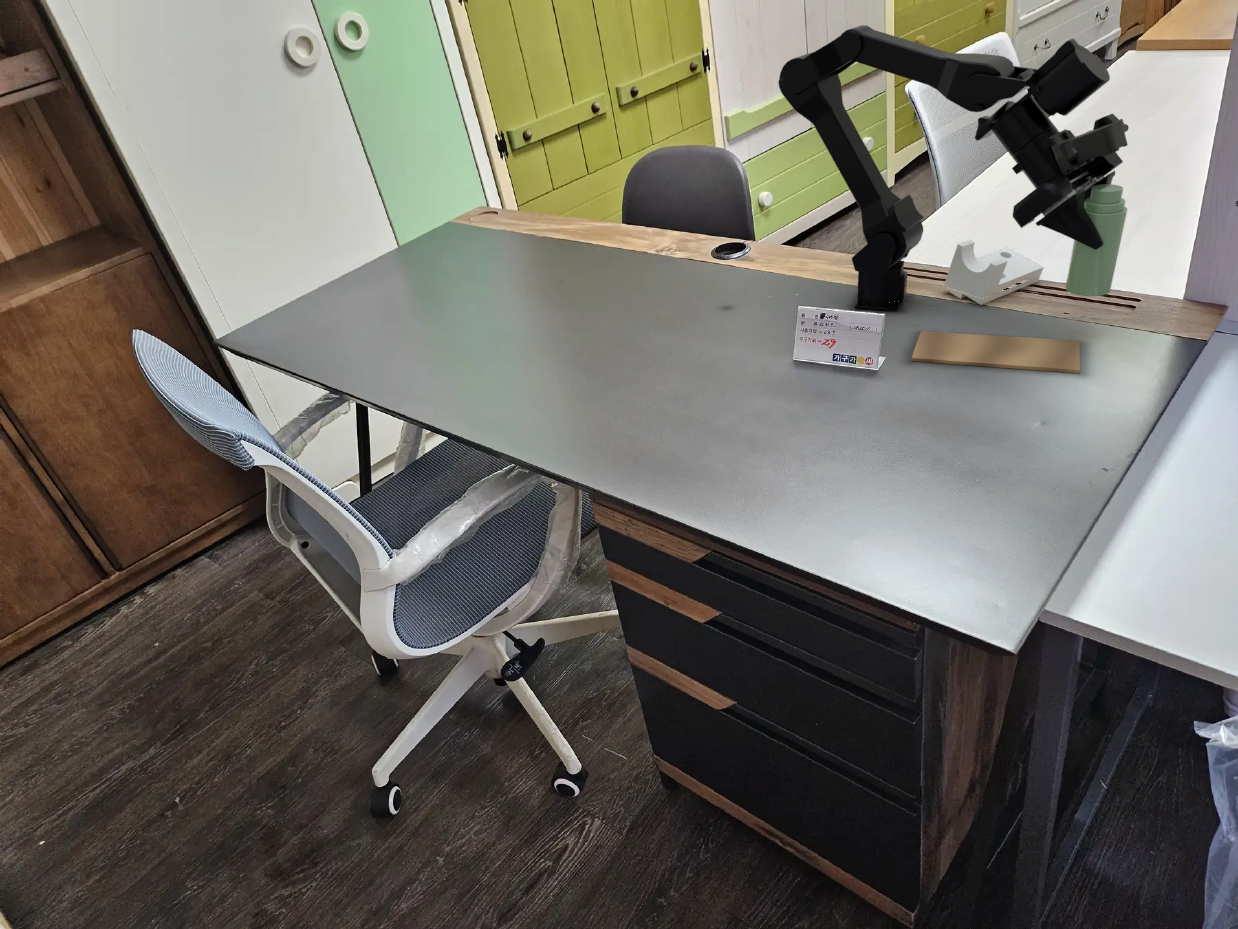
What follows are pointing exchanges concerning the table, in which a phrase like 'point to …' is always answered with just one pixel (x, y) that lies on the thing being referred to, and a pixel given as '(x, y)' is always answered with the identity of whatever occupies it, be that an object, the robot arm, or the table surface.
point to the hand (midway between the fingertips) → (1108, 240)
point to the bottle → (1097, 266)
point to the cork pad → (998, 351)
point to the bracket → (989, 272)
